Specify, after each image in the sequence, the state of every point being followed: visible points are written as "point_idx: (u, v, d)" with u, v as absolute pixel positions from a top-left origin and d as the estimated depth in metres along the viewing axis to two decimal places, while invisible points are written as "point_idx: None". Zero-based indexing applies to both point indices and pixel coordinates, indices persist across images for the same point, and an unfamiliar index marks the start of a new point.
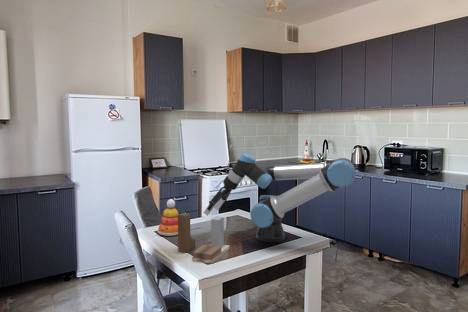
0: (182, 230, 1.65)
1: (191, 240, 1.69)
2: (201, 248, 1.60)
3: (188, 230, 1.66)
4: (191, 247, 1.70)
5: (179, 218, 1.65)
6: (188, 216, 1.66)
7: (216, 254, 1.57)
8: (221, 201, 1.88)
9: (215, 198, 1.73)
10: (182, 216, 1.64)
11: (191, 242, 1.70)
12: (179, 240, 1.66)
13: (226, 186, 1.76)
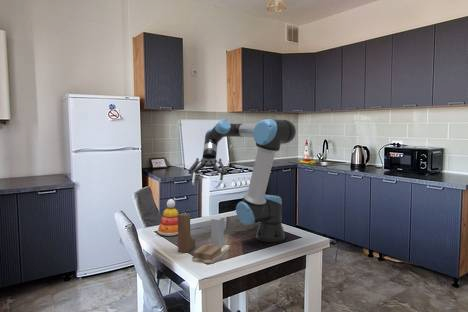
0: (182, 230, 1.65)
1: (191, 240, 1.69)
2: (201, 248, 1.60)
3: (188, 230, 1.66)
4: (191, 247, 1.70)
5: (179, 218, 1.65)
6: (188, 216, 1.66)
7: (216, 254, 1.57)
8: (219, 175, 1.85)
9: None
10: (182, 216, 1.64)
11: (191, 242, 1.70)
12: (179, 240, 1.66)
13: None
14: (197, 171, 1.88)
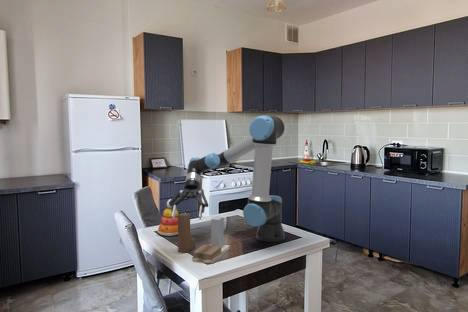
0: (182, 230, 1.65)
1: (191, 240, 1.69)
2: (201, 248, 1.60)
3: (188, 230, 1.66)
4: (191, 247, 1.70)
5: (179, 218, 1.65)
6: (188, 216, 1.66)
7: (216, 254, 1.57)
8: None
9: None
10: (182, 216, 1.64)
11: (191, 242, 1.70)
12: (179, 240, 1.66)
13: None
14: (178, 203, 1.82)
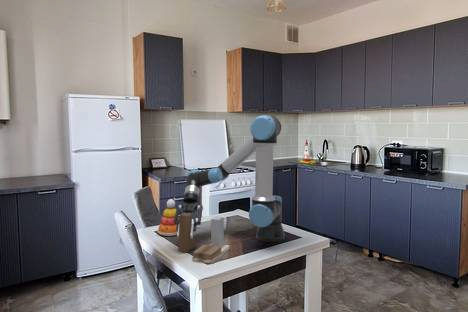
0: (183, 230, 1.65)
1: (191, 240, 1.69)
2: (201, 248, 1.60)
3: (189, 230, 1.66)
4: (191, 247, 1.69)
5: (181, 218, 1.65)
6: (190, 216, 1.66)
7: (216, 254, 1.57)
8: None
9: None
10: (184, 216, 1.64)
11: (192, 242, 1.70)
12: (180, 240, 1.66)
13: None
14: None
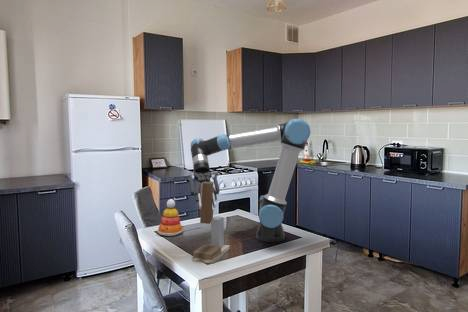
0: (206, 199, 1.53)
1: (212, 210, 1.58)
2: (201, 248, 1.60)
3: (212, 199, 1.55)
4: (211, 218, 1.58)
5: (204, 186, 1.52)
6: (212, 184, 1.55)
7: (216, 254, 1.57)
8: None
9: (190, 187, 1.59)
10: (208, 184, 1.52)
11: (212, 212, 1.59)
12: (202, 210, 1.53)
13: None
14: None
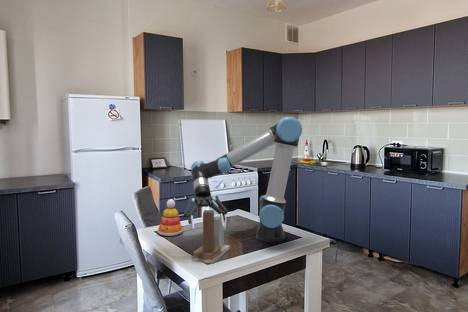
0: (208, 228, 1.53)
1: None
2: (201, 248, 1.60)
3: (213, 228, 1.56)
4: (214, 246, 1.59)
5: (205, 216, 1.53)
6: (213, 213, 1.55)
7: (216, 254, 1.57)
8: (220, 216, 1.60)
9: (186, 209, 1.60)
10: (209, 213, 1.53)
11: (214, 240, 1.59)
12: (205, 240, 1.54)
13: (195, 196, 1.65)
14: (193, 213, 1.60)
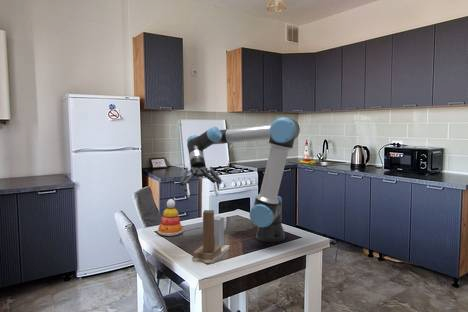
0: (208, 228, 1.53)
1: None
2: (201, 248, 1.60)
3: (213, 228, 1.56)
4: (214, 246, 1.59)
5: (205, 216, 1.53)
6: (213, 213, 1.55)
7: (216, 254, 1.57)
8: (214, 185, 1.70)
9: (182, 178, 1.70)
10: (209, 213, 1.53)
11: (214, 240, 1.59)
12: (205, 240, 1.54)
13: None
14: None
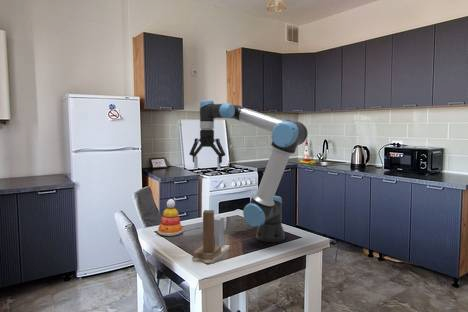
0: (208, 228, 1.53)
1: None
2: (201, 248, 1.60)
3: (213, 228, 1.56)
4: (214, 246, 1.59)
5: (205, 216, 1.53)
6: (213, 213, 1.55)
7: (216, 254, 1.57)
8: None
9: None
10: (209, 213, 1.53)
11: (214, 240, 1.59)
12: (205, 240, 1.54)
13: None
14: None
